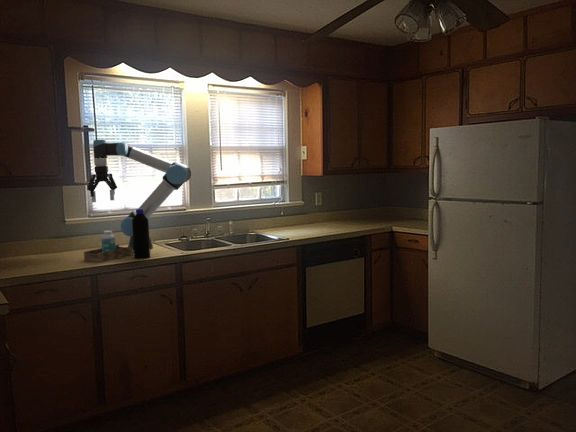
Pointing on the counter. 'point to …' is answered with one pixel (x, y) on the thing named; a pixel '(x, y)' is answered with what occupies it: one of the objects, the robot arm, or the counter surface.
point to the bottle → (140, 235)
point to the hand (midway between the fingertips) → (103, 201)
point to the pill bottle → (108, 241)
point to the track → (107, 254)
